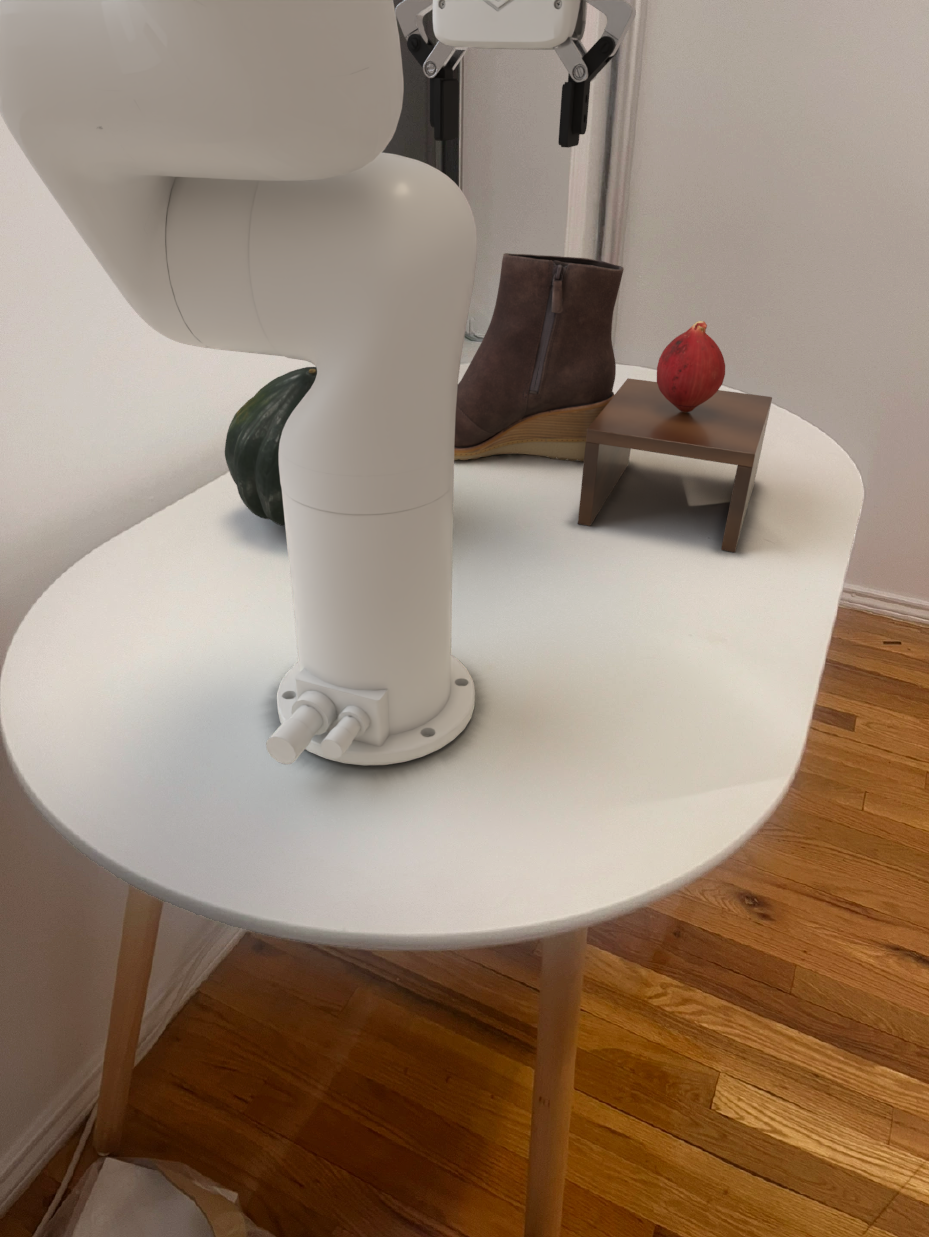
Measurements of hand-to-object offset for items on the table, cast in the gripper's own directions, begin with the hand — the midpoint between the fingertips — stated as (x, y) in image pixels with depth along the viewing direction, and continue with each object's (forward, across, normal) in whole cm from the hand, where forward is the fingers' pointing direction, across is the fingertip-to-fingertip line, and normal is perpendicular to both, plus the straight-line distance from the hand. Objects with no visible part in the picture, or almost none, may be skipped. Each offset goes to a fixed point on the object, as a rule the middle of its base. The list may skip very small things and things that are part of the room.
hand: (506, 143), depth 66 cm
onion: (+22, +15, +9) cm, 28 cm away
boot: (+31, -5, +15) cm, 34 cm away
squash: (+31, -14, -7) cm, 34 cm away
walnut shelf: (+30, +15, +9) cm, 35 cm away
